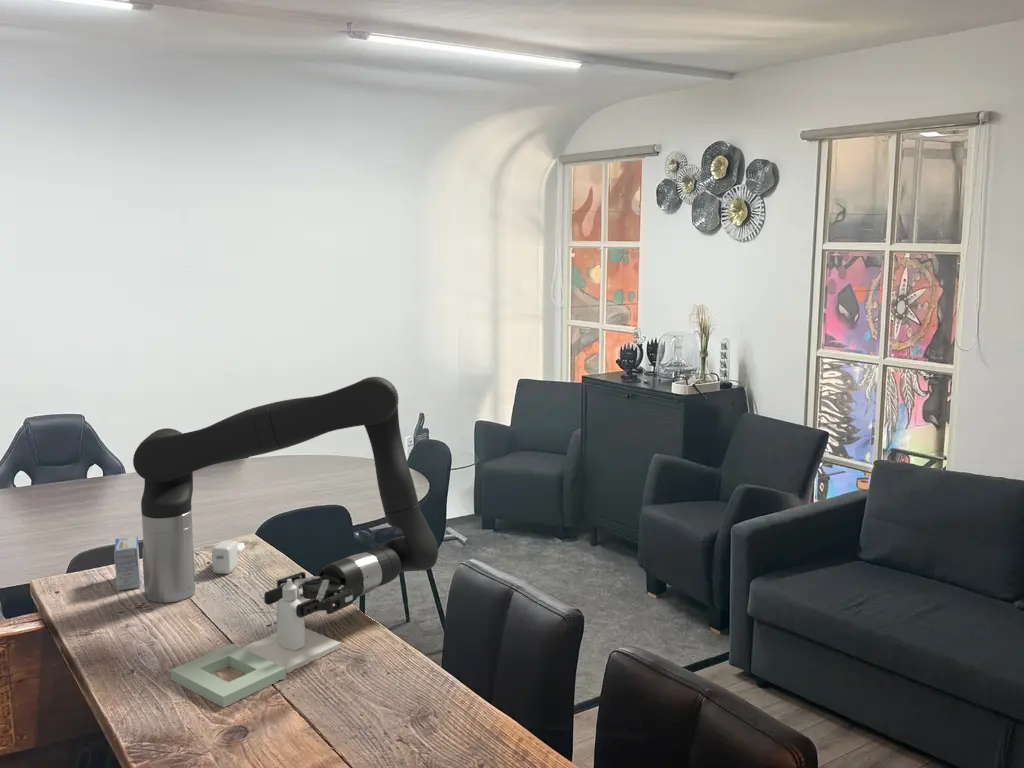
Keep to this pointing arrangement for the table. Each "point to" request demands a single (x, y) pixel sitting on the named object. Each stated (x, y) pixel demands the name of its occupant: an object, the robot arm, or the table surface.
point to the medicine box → (127, 563)
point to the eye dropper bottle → (290, 619)
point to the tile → (293, 658)
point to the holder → (227, 693)
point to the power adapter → (226, 556)
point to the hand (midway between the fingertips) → (281, 605)
